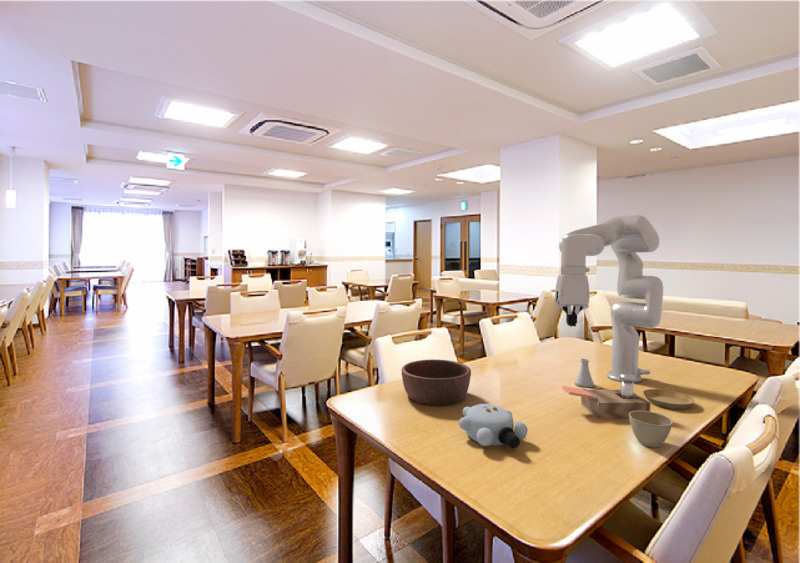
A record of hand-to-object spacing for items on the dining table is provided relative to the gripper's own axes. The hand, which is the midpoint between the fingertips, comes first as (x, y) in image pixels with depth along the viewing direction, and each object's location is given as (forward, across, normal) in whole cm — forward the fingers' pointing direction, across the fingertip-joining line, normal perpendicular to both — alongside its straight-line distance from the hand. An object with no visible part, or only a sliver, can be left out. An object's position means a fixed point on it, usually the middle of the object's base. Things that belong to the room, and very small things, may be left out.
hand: (571, 325), depth 134 cm
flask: (+27, -14, -20) cm, 37 cm away
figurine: (+28, +32, +25) cm, 49 cm away
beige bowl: (+27, -10, +28) cm, 40 cm away
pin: (+27, -16, +6) cm, 32 cm away
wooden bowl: (+27, +45, -8) cm, 53 cm away
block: (+27, -12, +6) cm, 30 cm away
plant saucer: (+28, -34, -1) cm, 44 cm away
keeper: (+21, 0, +6) cm, 22 cm away
